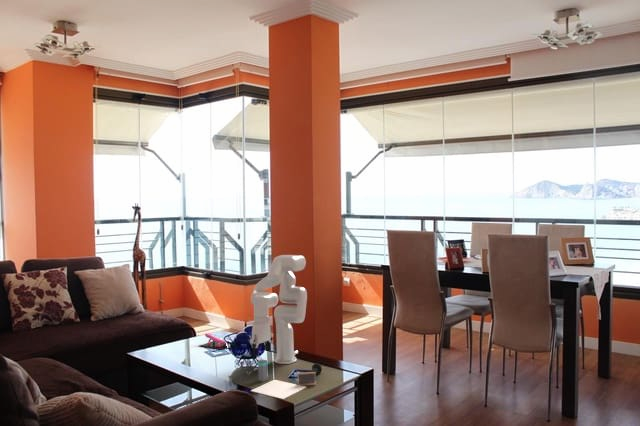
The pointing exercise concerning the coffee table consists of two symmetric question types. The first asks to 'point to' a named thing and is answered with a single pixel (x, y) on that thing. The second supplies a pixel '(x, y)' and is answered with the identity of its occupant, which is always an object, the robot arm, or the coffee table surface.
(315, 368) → the microphone
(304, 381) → the word card
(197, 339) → the coffee table surface
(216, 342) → the pink toy cannon
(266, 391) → the paper
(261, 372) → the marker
